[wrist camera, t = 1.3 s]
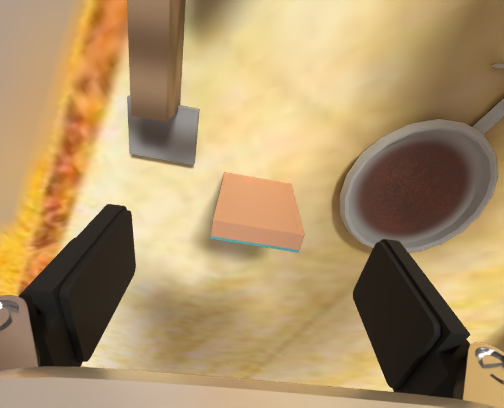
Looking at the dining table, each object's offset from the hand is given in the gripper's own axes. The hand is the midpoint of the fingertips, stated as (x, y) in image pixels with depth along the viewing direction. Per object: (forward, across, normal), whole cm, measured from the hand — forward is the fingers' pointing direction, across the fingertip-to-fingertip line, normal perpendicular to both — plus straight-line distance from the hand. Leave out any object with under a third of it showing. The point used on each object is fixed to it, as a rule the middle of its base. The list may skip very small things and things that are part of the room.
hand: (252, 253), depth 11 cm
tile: (+21, -2, +7) cm, 22 cm away
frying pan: (+21, -22, 0) cm, 31 cm away
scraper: (+21, +9, -3) cm, 23 cm away
